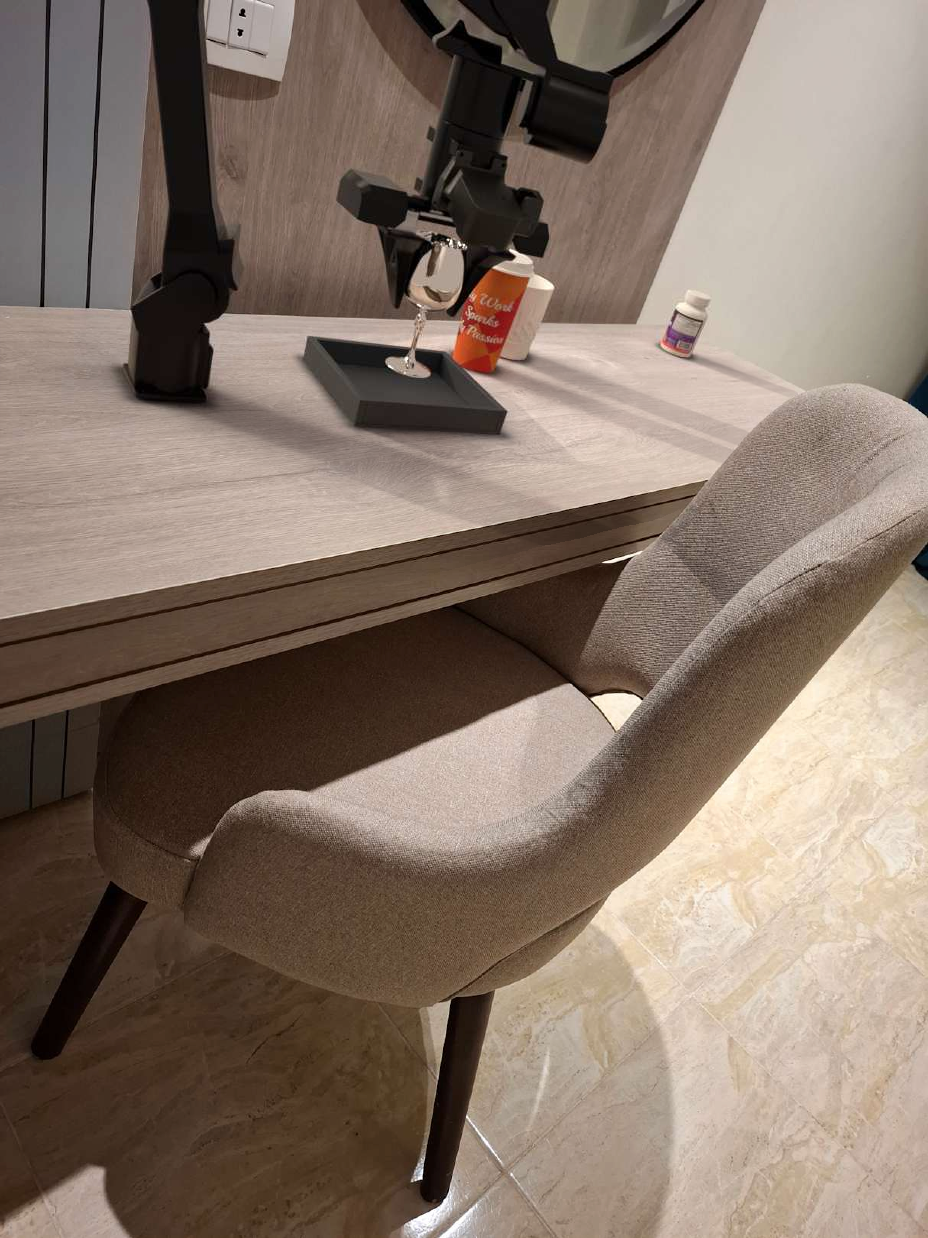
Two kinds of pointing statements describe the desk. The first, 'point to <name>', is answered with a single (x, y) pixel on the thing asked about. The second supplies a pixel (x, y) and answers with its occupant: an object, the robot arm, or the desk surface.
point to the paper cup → (491, 314)
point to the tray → (402, 388)
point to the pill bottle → (686, 324)
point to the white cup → (527, 318)
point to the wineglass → (431, 289)
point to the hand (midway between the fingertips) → (422, 311)
